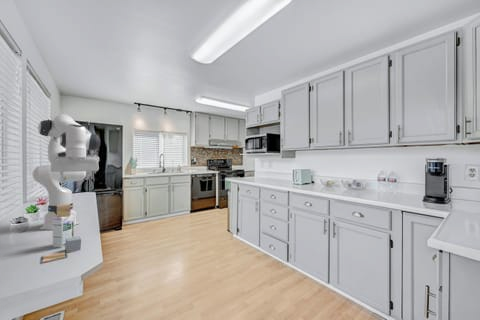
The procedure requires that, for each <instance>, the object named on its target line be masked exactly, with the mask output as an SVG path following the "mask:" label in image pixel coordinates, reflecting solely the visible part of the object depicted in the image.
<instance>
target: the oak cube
mask: <svg viewBox="0 0 480 320" xmlns="http://www.w3.org/2000/svg"><path fill="white" fill-rule="evenodd" d="M64 216H70V204H65V205H57V217H64Z"/></svg>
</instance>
